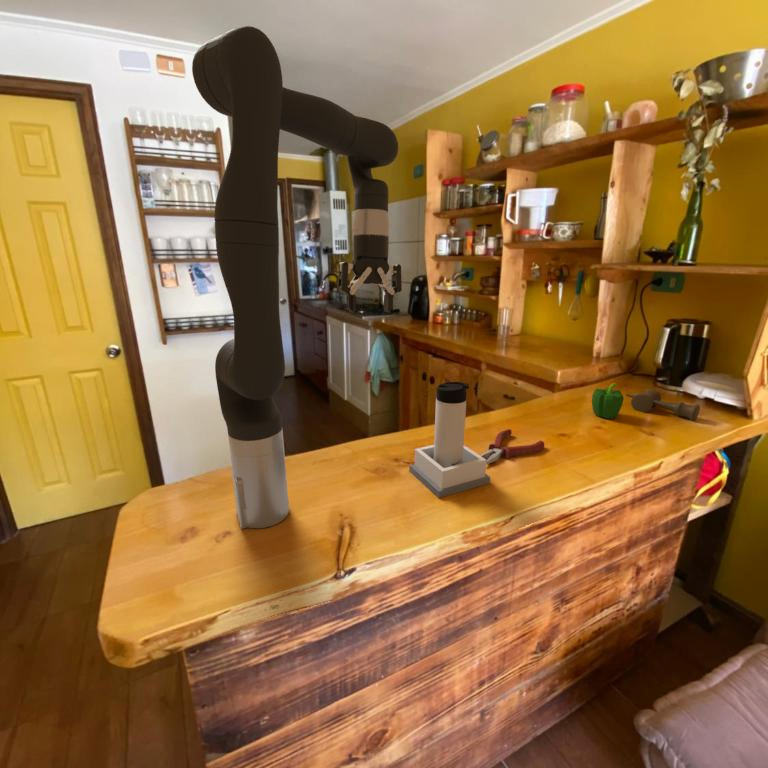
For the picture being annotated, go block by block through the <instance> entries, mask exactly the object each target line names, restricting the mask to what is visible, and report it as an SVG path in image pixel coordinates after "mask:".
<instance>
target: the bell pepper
mask: <svg viewBox="0 0 768 768" xmlns="http://www.w3.org/2000/svg"><path fill="white" fill-rule="evenodd" d="M617 385H618V384H617V383H615V382H613V383H611V384H610V385H609V386H608V387H607V388H603V389H602V388H595V389H594V391H593V394H592V397H591V407H592V413H594V415H595V416H596V417H603V418H605V419H611V420H613V419H615V418H617V417H618V415H619V413H620V411H621V409H622V407H623V403H624V396H623V395H624V394H623V393H622V392H621V390H619V389H615V390H613V388H614V387H616V386H617Z"/></svg>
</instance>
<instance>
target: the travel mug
mask: <svg viewBox="0 0 768 768" xmlns="http://www.w3.org/2000/svg"><path fill="white" fill-rule="evenodd" d="M469 389H470V384H469V383H467V382H462V381H450V382H449V381H448V382H443V383H440V384H439V385H438V386H437V387H436V395H435V396H436V397H435V413H434V414H435V417H434V418H435V419H434V439H433V440H434V441H433V445H434V461H435V462H437V463H438V464H439V465H440V466H442V467H443V468H447V467H451V466H455V465H458V464H462V463H463V447H464V443H465V427H466V412H467V395H468V394H467V393H468V392H467V390H469Z"/></svg>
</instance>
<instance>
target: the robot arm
mask: <svg viewBox="0 0 768 768" xmlns="http://www.w3.org/2000/svg"><path fill="white" fill-rule="evenodd" d="M191 63H192V64H191V65H192V66H191V71H192V77H193V80H194V82H193V83H194V85H195V86H196V89H197V91H198V92H199V94H200V96H201V98H202V99H203V100H204V102H205V103H206V104H207V105H208V106H210V107H211V108H212V109H213V110H214V111H216V112H217V113H219V114H221V115H223V116H225V117H226V116H227V117H230V118H231V120H232V123H231V124H232V127H231V128H232V138H231V147H230V152H229V156H228V160H227V163H226V166H225V169H224V172H223V174H222V178H221V181H220V184H219V187H218V190H217V195H216V198H215V204H214V216H213V217H214V232H215V233H214V237H215V249H216V255H217V256H216V257H217V261H218V264H219V269H220V273H221V275H222V280H223V282H224V286H225V288H226V291H227V294H228V296H229V300H230V303H231V308H232V309H231V310H232V315H233V329H234V330H233V331H234V332H233V336H234V337H233V338H232V339H230V340H227V341H226V342H225V343H224V344H223V345H222V346H221V347H220V349H219V350H218V352H217V355H216V358H215V363H214V365H215V366H214V370H215V371H214V372H215V381H216V385H217V386H216V387H217V393H218V399H219V405H220V410H221V414H222V416H223V420H224V422H225V425H226V431H227V437H228V444H229V445H228V446H229V451H230V452H229V453H230V460H231V477H232V484H233V493H234V500H235V502H234V503H235V509H236V515H237V518H238V522H239V528H240V529H247V528H250V529H265V528H269V527H272V526H275V525H277V524H279V523H281V522H282V521H284V519H286V518H287V516H288V515H289V513H290V505H289V504H290V503H289V493H288V480H287V468H286V467H287V465H286V455H285V443H284V431H283V418H282V417H283V416H282V414H281V413H282V412H280V410H279V408H278V406H277V404H276V402H275V400H274V398H273V396H274V395H275V394H276V393H277V392H278V391H279V389H280V388H281V386H282V384H283V381H284V378H285V373H286V372H285V371H286V361H285V354H284V353H285V352H284V344H283V338H282V337H283V336H282V328H281V316H280V274H279V271H280V268H279V267H280V265H279V261H280V260H279V258H280V257H279V256H280V240H279V239H280V235H279V233H280V231H279V230H280V228H279V226H280V225H279V212H278V210H279V208H278V202H279V201H278V198H279V197H278V195H279V194H278V193H279V191H278V190H279V186H278V185H279V184H278V181H279V144H280V131H282V132H283V131H284V132H287V133H289V134H293V135H295V136H298V137H300V138H303V139H305V140H307V141H310V142H312V143H315V144H316V145H319V146H321V147H323V148H325V149H326V150H330V151H331V152H333V153H335V154H337V155H341V156H345V157H346V159H347V165H348V168H349V172H350V177H351V181H352V182H351V183H352V186H353V190H354V199H353V201H354V203H353V204H354V206H353V207H354V213H353V215H354V216H353V221H352V223H353V224H352V233H353V234H352V236H353V237H352V239H353V240H352V248H353V249H352V257H353V261H352V263H350V262H349V263H348V262H347V261H343V262H342V261H341V262H339V263H338V272H337V273H338V274H337V291H339V292H342V293H344V294H345V295H346V296H345V297H346V301H345V302H346V305H345V307H346V309H347V311H348V313H351V314H355V313H356V311H357V309H356V306H357V303H356V301H357V300H356V297H357V296H356V295H355V294H356V292H357V291H358V289H360V287H362V286H363V285H378V286H379V287H380V289H382V290H383V292H384V295H383V312H384V313H391V312H392V310H393V308H394V295H395V294H397V293H401V292H402V290H403V289H402V266H401V264H399V263H398V264H397V263H395V264H389V262H388V260H389V259H388V258H389V246H390V245H389V243H390V242H389V241H390V240H389V239H390V221H389V187H388V184H387V183H386V182H385V181H384V180H381V179H378V178H374V177H373V174H372V169H376V168H381V167H382V168H383V167H386V166H389V165H391V164H392V163H393V162H395V160H396V158H397V156H398V153H399V141H398V138H397V135H396V134H395V132H394V131H393V130H392V129H391V128H390V127H389V126H388V125H387V124H385V123H382V122H380V121H377V120H374V119H370V118H368V117H364V116H363V117H362V116H357V115H355V114H353V113H352V112H350V110H349V111H348V110H347V109H345V108H343V107H342V106H340V105H339V104H337V103H335V102H333V101H331V100H329V99H326V98H324V97H320V96H317V95H314V94H310V93H309V94H308V93H306V92H301V91H296V90H293V89H290V88H287V87H284V85H283V83H284V82H283V75H282V74H283V73H282V67H281V62H280V58H279V56H278V53H277V51H276V48H275V45H274V44H273V43H272V41H271V40H270V38H269V37H268V36H267V35H266V34H265V32H264V31H262V30H261V29H259V28H257V27H254V26H250V25H248V26H247V25H245V26H239V27H235V28H233V29H230V30H228V31H227V32H224V33H222V34H219V35H218V36H216V37H212V38H211V39H209V40H207V41H206V42H204V43H203V44H202V45H201V46H200V47H199V48H198V49H196V52H195V53H194V55H193V58H192V62H191ZM351 270H352V272H353V273H354V276H353V277H352V279H351V280H350V283H349V285H348V281H349V279H348V278H349V274H350V273H351ZM388 273H389V275H391V282H390V280H389V278H388V277H387V274H388Z"/></svg>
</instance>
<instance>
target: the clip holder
mask: <svg viewBox="0 0 768 768" xmlns="http://www.w3.org/2000/svg"><path fill="white" fill-rule="evenodd" d="M480 455H481V454H478V453H477V452H475V451H473V450H472V449H471V448H470V447H468V446H466V445H464V447H463V463H462V464H458V465H455V466H451V467H447V468H443V467H442V466H440V465H439V464H438V463H437V462H435V461H434V444H430V445H426V446H423V447H418V448H415V449H414V462H413V464H409V466H408V467H409V468H408V469H409V470H408V471H409V473H411V474H412V476H414V477H415V478H416V479H417V480H419V482H421V483H422V485H424V487H426V488H427V489H428V490H429V491H430V492H431V493H432V494H433V495H434V496H436V498H438V499H440V498H444V497H446V496H450V495H454V494H457V493H461V492H465V491H467V490H471V489H475V488H479V487H482V486H484V485H488V484H491V476H490V475H488V474H487V473H486V470H487V469H486V468H487V464H486V461H487V459H484V458H483V457H481V456H480Z"/></svg>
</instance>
